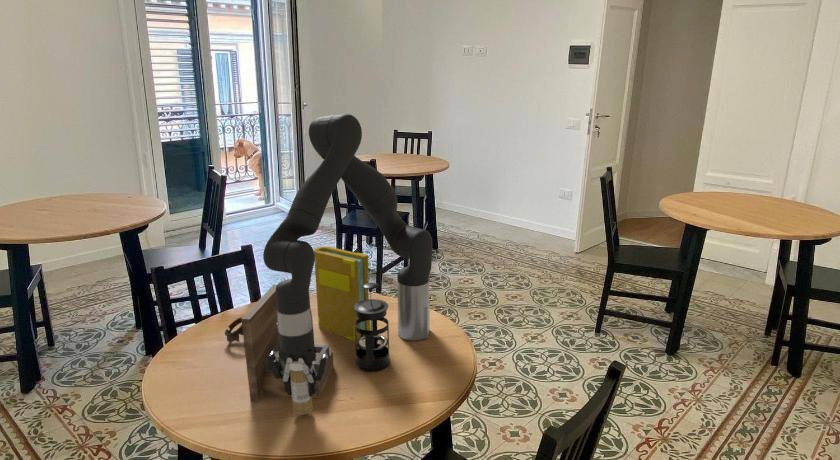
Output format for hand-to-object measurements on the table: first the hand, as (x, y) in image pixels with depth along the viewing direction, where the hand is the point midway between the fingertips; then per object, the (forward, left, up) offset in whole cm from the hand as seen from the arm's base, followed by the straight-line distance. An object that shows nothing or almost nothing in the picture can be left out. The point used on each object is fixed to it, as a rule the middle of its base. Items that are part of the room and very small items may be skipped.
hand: (301, 393), depth 123 cm
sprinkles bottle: (0, 0, -5) cm, 5 cm away
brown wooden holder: (+6, -14, -6) cm, 16 cm away
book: (+1, -42, -6) cm, 42 cm away
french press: (-12, -24, -6) cm, 27 cm away
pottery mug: (+28, -33, -6) cm, 44 cm away
